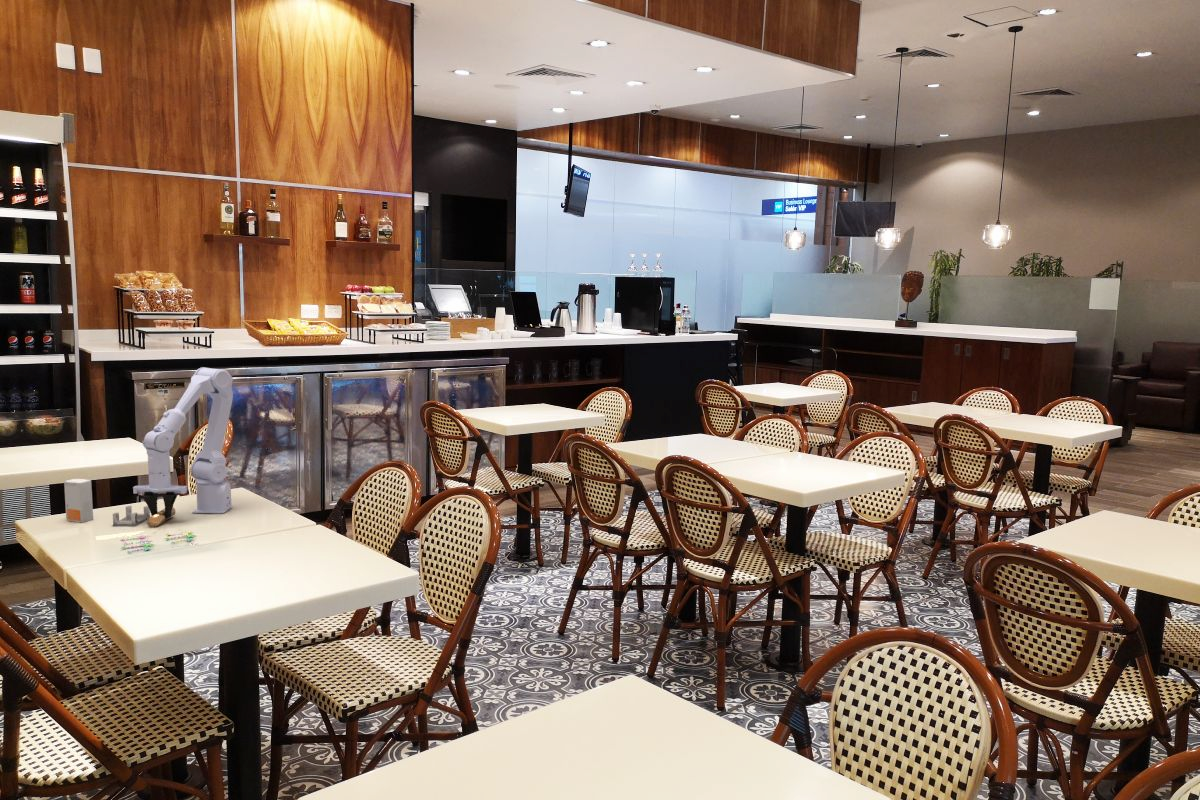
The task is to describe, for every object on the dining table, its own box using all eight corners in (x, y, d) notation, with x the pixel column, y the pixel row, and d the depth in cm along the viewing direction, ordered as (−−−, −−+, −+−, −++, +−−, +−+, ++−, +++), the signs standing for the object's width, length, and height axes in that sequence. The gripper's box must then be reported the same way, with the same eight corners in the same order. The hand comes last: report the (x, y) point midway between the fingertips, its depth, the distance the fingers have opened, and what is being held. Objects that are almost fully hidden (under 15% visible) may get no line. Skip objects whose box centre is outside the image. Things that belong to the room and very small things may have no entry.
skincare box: (65, 521, 263) (63, 481, 261) (77, 517, 267) (75, 478, 265) (82, 523, 261) (79, 482, 260) (94, 519, 265) (91, 479, 264)
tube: (164, 516, 270) (164, 506, 269) (175, 516, 270) (175, 506, 270) (147, 527, 258) (146, 516, 258) (158, 527, 258) (158, 516, 258)
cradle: (150, 517, 269) (149, 505, 268) (135, 526, 259) (134, 514, 258) (128, 517, 268) (128, 505, 268) (113, 526, 258) (112, 514, 258)
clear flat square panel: (212, 523, 264) (211, 518, 264) (232, 552, 239) (232, 547, 239) (95, 537, 248) (95, 532, 248) (104, 569, 223) (103, 564, 223)
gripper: (127, 474, 258) (129, 520, 259) (179, 474, 259) (181, 520, 260) (138, 469, 265) (140, 514, 266) (189, 469, 266) (190, 514, 267)
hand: (161, 517), depth 264 cm, fingers closed on tube, 3 cm apart
